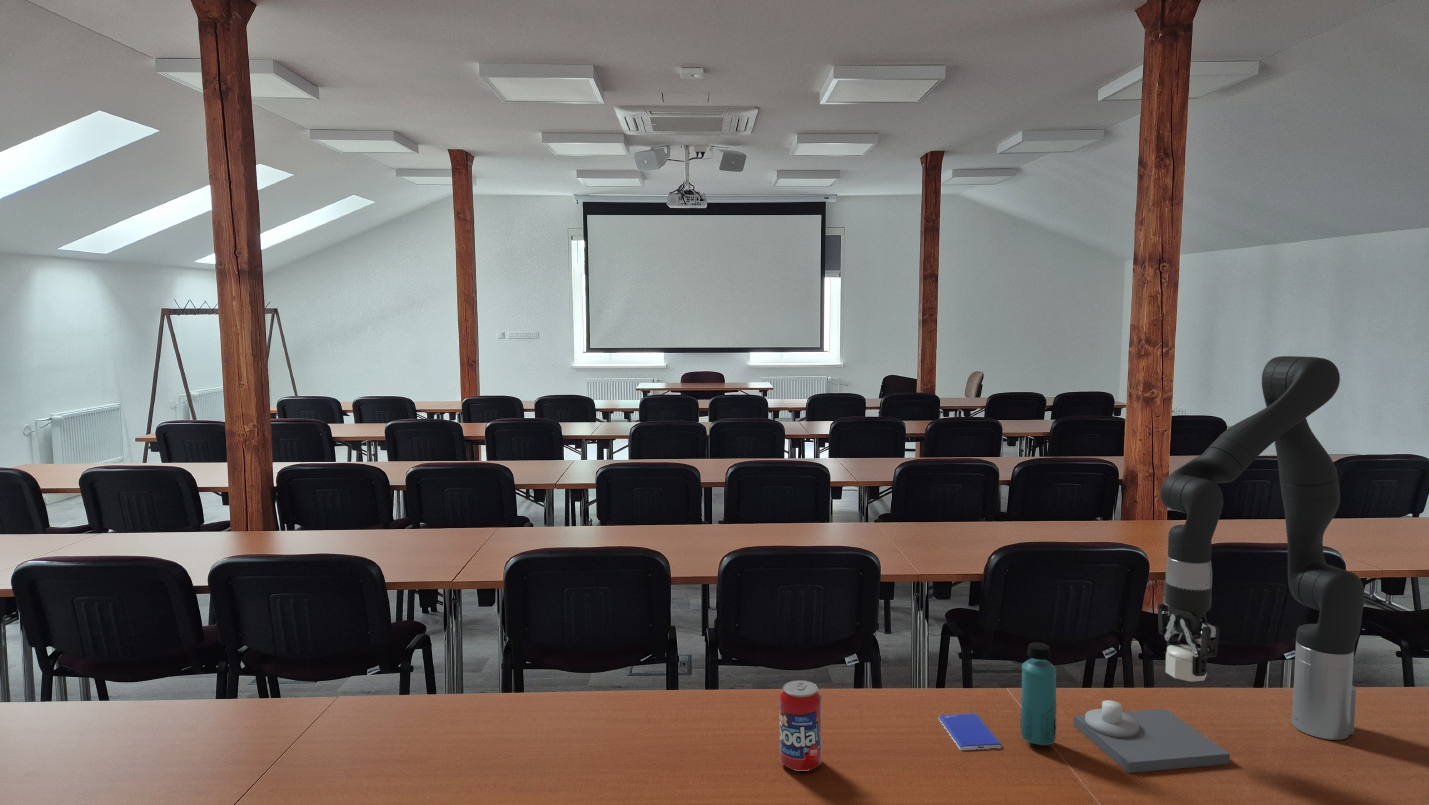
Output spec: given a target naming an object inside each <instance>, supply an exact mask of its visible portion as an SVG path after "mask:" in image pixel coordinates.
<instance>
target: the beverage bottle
mask: <svg viewBox="0 0 1429 805" xmlns="http://www.w3.org/2000/svg"><path fill="white" fill-rule="evenodd" d="M1027 656H1028V657H1029V659H1026V661H1024V662H1023V663H1022V664H1021V692H1020V725H1019V726H1020V734H1021V736H1022V738H1023V739H1024V740H1025V741H1026V742H1028V743H1031V744H1032V745H1033V744H1034V745H1038V746H1047V745H1048V746H1049V745H1052V744H1053V743H1055V741H1056V739H1057V737H1056V736H1057V728H1058V727H1057V714H1058V713H1057V709H1058V707H1057V668H1056V667H1055V666H1054V665H1053V664H1052V663H1051V662H1050V661H1048V660H1050V659H1051V647H1050V646H1049V645H1048V644H1046V643H1043V642H1030V643H1029V644H1028V648H1027Z"/></svg>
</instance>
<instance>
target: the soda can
mask: <svg viewBox="0 0 1429 805" xmlns="http://www.w3.org/2000/svg"><path fill="white" fill-rule="evenodd" d="M778 698H779V700H778V701H779V703H778V704H779V705H778V706H779V707H778V708H779V710H778V711H779V712H778V713H779V714H778V715H779V721H778V722H779V761H780V763H781V765H783V766H784V765H785V766H787V767H788V768H791V769H796V770H808V769H809V770H810V769H814V768H816V767H817V766H819V765H820V766H821V764H822V763H823V762H822V761H823V760H822V759H823V750H822V749H823V714H822V712H823V710H822V709H823V706H822V705H823V704H822V699H823V698H822V694H821V693H820V691H819V688H818V686H817V684H815V683H814V682H811V681H808V680H800V679H799V680H791V681H788V682H786V683H785V684H783V686H782V690H781V692H780V693H779V696H778ZM785 766H784V767H785ZM820 766H819V767H820ZM788 768H787V769H788ZM817 768H818V767H817ZM817 768H816V769H817ZM814 770H815V769H814Z"/></svg>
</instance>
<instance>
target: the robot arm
mask: <svg viewBox="0 0 1429 805" xmlns="http://www.w3.org/2000/svg"><path fill="white" fill-rule="evenodd" d="M1340 383H1341V374H1340V372H1339V368H1338V367H1337V365H1336V364H1335V363H1334V362H1333V361H1331V360H1330V359H1327V358H1325V357H1324V358H1323V357H1317V356H1299V355H1298V356H1297V355H1296V356H1294V355H1291V356H1290V355H1287V356H1286V355H1284V356H1283V355H1282V356H1280V355H1279V356H1275V357H1273V358H1271V359H1270V360H1268V362H1267V363H1266V364H1265V365H1264V367H1263V370H1262V373H1261V390H1262V394H1263V399H1264V403H1265V407H1264V408H1263V409H1261V410H1260V411H1257V412H1256V413H1254V414H1252V415H1250V416H1248V417H1246V418H1244V419H1243V420H1241V421H1238V422H1237V423H1235V424H1234V425H1231V426H1230V427H1229V428H1227V429H1226V430H1225V431H1223V432H1222V433H1221V434H1220V435H1219V436H1218V437H1217V438H1216V439H1215V440H1214V441H1213V442H1212V443H1211V444H1210V445H1209V446H1208V447H1207V448H1206V449H1205V450H1204V452H1203V453H1201V454H1200V455H1198V456H1196V457H1195V458H1193V459H1191V460H1190V461H1188V462H1186V463H1185V464H1183V465H1181V466H1180V467H1178V468H1177V469H1176V470H1174V471H1172V472H1171V473H1170V474H1169V475H1168V476H1167V477H1166V478H1165V480H1163V483H1162V484H1161V487H1160V492H1159V496H1160V500H1161V502H1162V504H1164V506H1165V507H1167V508H1168V509H1170V510H1172V511H1176V512H1178V513H1183V514H1187V515H1186V520H1185V523H1184V524H1177V525H1174V526H1172V527H1171V528H1170V529H1169V532H1168V538H1167V539H1168V540H1167V560H1166V565H1165V583H1164V584H1165V587H1164V589H1165V590H1164V602H1162V603H1158V604H1157V623H1158V633H1159V635H1163V636H1164V640H1165V641H1166V648H1167V647H1168V646H1170V645H1175V644H1181V641H1180V640H1181V638H1182V636H1184V637H1185V639H1186V642H1187V645H1190V646H1191V648H1192V652H1193V655H1194V656H1193V671H1192V673H1193V675H1195V676H1204V675H1205V674H1206V672H1208V670H1207V669H1208V668H1207V667H1208V658H1215V657H1218V656H1217V655H1218V649H1219V640H1220V632H1221V630H1220V627H1219V626H1218V625H1211V624H1210V623H1209V622H1208V620H1207V615H1206V614H1207V612H1208V611H1210V610H1211V608H1212V591H1213V588H1212V586H1213V569H1212V568H1213V567H1212V544H1213V543H1212V542H1213V541H1212V539H1213V536H1214V534H1215V531H1216V528H1217V526H1218V522H1219V520H1220V518H1221V517H1220V516H1221V515H1222V511H1223V508H1224V496H1223V492H1222V490H1221V488H1220V486H1219V485H1218V484H1227V483H1231V482H1233V481H1235V480H1236V479H1238V478H1239V477H1240V476H1241V474H1242V473H1244V472H1245V471H1246V470H1247V468H1248V467H1249V466H1250V465H1251V464H1252V463H1253V462H1255V460H1256V459H1257V458H1258V457H1259V456H1260V455H1261V454H1262V453H1263V452H1264V451H1265V450H1267V448H1268V447H1270V446H1271V445H1272V444H1273V443H1274V446H1275V452H1276V457H1277V458H1276V459H1277V463H1278V464H1277V466H1278V478H1279V485H1280V491H1281V492H1280V493H1281V497H1282V498H1281V499H1282V504H1283V509H1284V517H1285V519H1284V520H1285V531H1286V539H1287V540H1286V541H1287V580H1288V581H1287V583H1288V584H1287V585H1288V588H1289V592H1290V594H1291V596H1292V597H1293V599H1294V600H1295V601H1297V602H1298V603H1299V604H1301V605H1303V606H1305V607H1307V608H1310V609H1313V610H1315V611H1317V612H1319V615H1318V621H1317V623H1306V624H1302V625H1299V626H1298V627H1297V629H1296V635H1295V636H1296V637H1295V655H1294V670H1293V672H1294V675H1293V677H1294V678H1293V693H1292V694H1293V696H1292V712H1291V714H1292V715H1291V724H1292V726H1293V727H1294V728H1295V729H1297V730H1299V731H1300V732H1303V733H1304V734H1307V735H1309V736H1313V737H1316V738H1319V739H1325V740H1332V741H1335V740H1337V741H1340V740H1345V739H1347V738H1349V737H1350V735H1355V717H1356V716H1355V715H1356V702H1357V701H1356V700H1357V687H1356V686H1354V685H1353V677H1354V657H1355V655H1354V654H1355V644H1356V642H1357V640H1358V638H1359V635H1360V632H1361V627H1362V617H1363V611H1364V603H1365V588H1364V585H1363V582H1362V580H1361V578H1360V577H1359V576H1358V575H1357V574H1355V573H1354V572H1351V571H1349V570H1347V569H1343V568H1340V567H1336V566H1334V565H1329V564H1327V562H1326V559H1325V554H1324V541H1323V540H1324V535H1325V532H1326V530H1327V528H1328V526H1329V524H1330V523H1331V522H1332V521H1333V519H1334V517H1335V516H1336V514H1337V511H1338V509H1339V507H1340V504H1341V491H1340V484H1339V483H1340V482H1339V477H1338V476H1339V475H1338V470H1337V467H1336V465H1335V463H1334V461H1333V459H1332V457H1331V456H1330V455H1329V453H1328V452H1327V450H1326V449H1325V447H1324V446H1323V445H1322V443H1321V442H1320V441H1319V439H1318V437H1316V435H1315V434H1314V433H1313V431H1312V428H1310V425H1309V423H1308V420H1307V418H1308V417H1310V416H1311V415H1312V414H1314V412H1316V411H1318V410H1319V409H1320V408H1321V407H1323V406H1324V405H1325V404H1327V403H1328V402H1329V401H1330V400H1332V398H1333V397H1334V396H1335V394H1336V393H1337V391H1338V389H1339V386H1340ZM1165 623H1167V625H1166V624H1165ZM1165 625H1166V627H1165ZM1195 637H1196V638H1195ZM1197 637H1199V638H1197ZM1198 644H1199V645H1200V650H1199V649H1198V648H1199V645H1198ZM1209 647H1210V649H1209Z"/></svg>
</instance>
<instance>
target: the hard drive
mask: <svg viewBox="0 0 1429 805" xmlns="http://www.w3.org/2000/svg"><path fill="white" fill-rule="evenodd" d="M937 719H939V720H940V721H939V720H938V721H939V723H940V722H941V723H942V724H941V723H940V724H941V726H942V725H943V726H944V727H943V726H942V727H943V729H944V730H945V729H946V730H947V731H946V730H945V731H946V732H948V733H949V734H948V733H947V734H948V735H949V737H950V736H951V737H950V738H951V739H952V741H953V742H954V744H955V743H956V744H955V745H956V746H957V747H958V749H959V751H973V750H975V751H976V749H977V750H991V749H990V748H997V749H1002V743H1001V742H1000V741H999V740H998V738H997V737H996V736H995V735H994V734H993V732H992V731H991V730H990V728H989V727H988V726H987V725H986V723H984V721H983V720H982V718H981V717H980V716H979V715H978V714H977V713H975V712H972V713H957V714H955V713H954V714H941V715H940V714H939V715H938V718H937Z"/></svg>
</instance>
